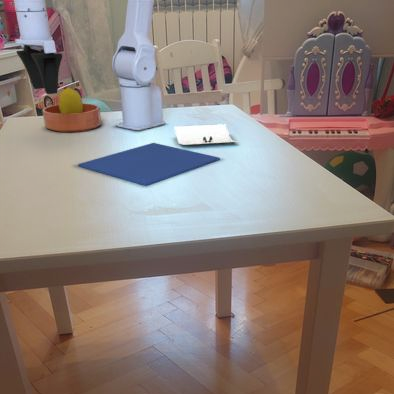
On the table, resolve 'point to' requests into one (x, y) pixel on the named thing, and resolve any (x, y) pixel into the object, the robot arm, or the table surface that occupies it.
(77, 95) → the lemon
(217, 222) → the table surface
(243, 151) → the table surface
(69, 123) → the bowl
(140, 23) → the robot arm
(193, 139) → the white square plate
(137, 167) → the cloth
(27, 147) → the table surface
